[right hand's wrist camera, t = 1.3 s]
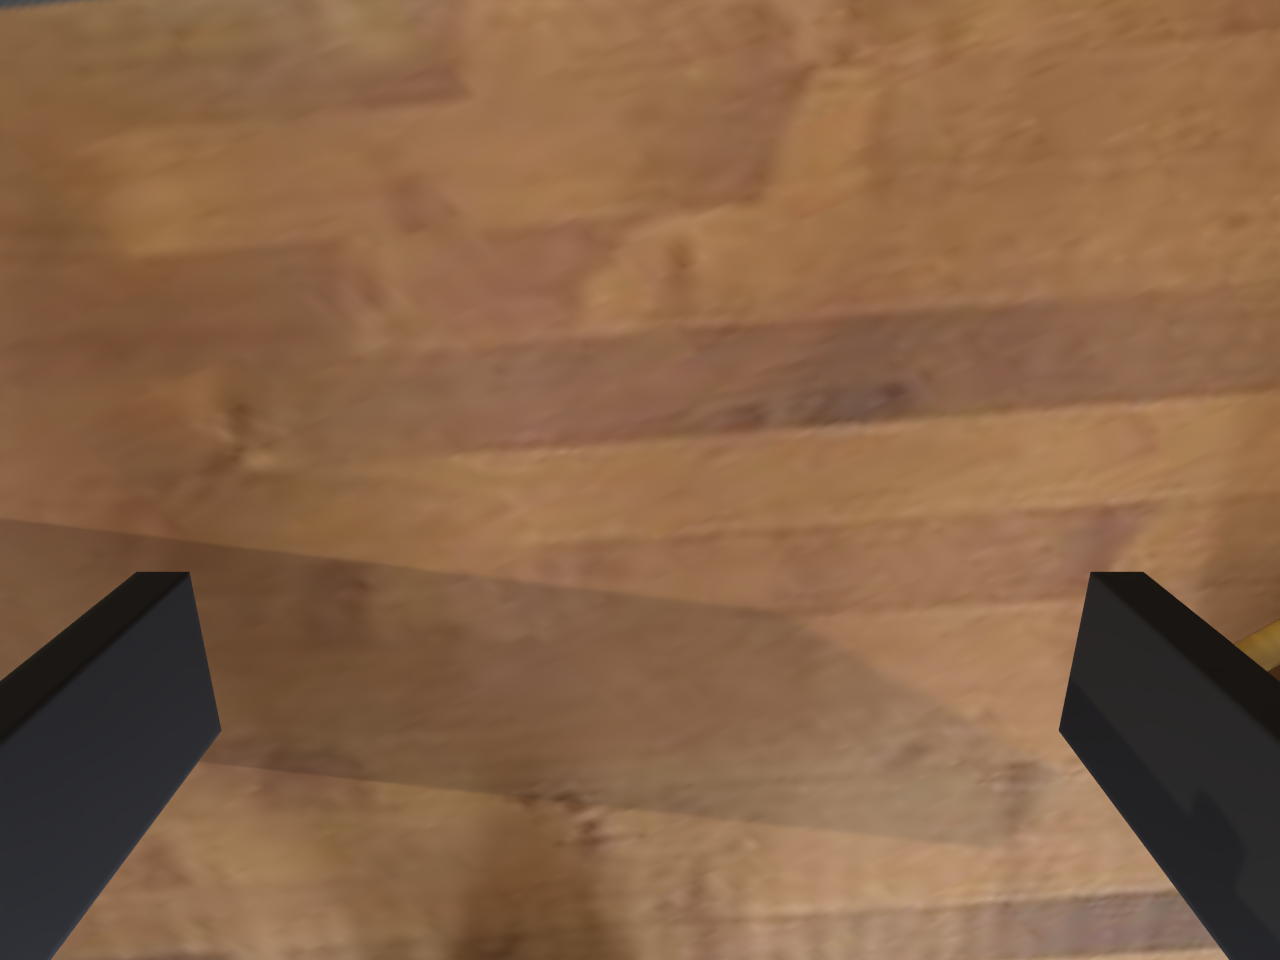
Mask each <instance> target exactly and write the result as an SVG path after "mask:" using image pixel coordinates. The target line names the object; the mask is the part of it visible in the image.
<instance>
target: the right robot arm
mask: <svg viewBox="0 0 1280 960" xmlns="http://www.w3.org/2000/svg"><path fill="white" fill-rule="evenodd" d="M220 732H221V727H220V722H219V717H218V712H217V707H216V702H215V697H214V692H213V687H212V682H211V677H210V672H209V667H208V662H207V657H206V652H205V648H204V643H203V638H202V633H201V628H200V623H199V618H198V613H197V608H196V603H195V598H194V593H193V588H192V583H191V578H190V573H189V572H136V573H135V574H133V575H132V576H131V577H130V578H128V579H127V580H126V581H125V582H123V583H122V584H121V585H120V586H118V587H117V588H116V589H115V590H113V591H112V592H111V593H110V594H109V595H107V596H106V597H105V598H104V599H102V600H101V601H100V602H99V603H97V604H96V605H95V606H94V607H92V608H91V609H90V610H89V611H87V612H86V613H85V614H84V615H82V616H81V617H80V618H79V619H77V620H76V621H75V622H74V623H72V624H71V625H70V626H69V627H67V628H66V629H65V630H64V631H62V632H61V633H60V634H59V635H57V636H56V637H55V638H54V639H52V640H51V641H50V642H49V643H47V644H46V645H45V646H44V647H42V648H41V649H40V650H39V651H38V652H36V653H35V654H34V655H33V656H31V657H30V658H29V659H28V660H26V661H25V662H24V663H23V664H21V665H20V666H19V667H18V668H16V669H15V670H14V671H13V672H11V673H10V674H9V675H8V676H6V677H5V678H4V679H3V680H1V681H0V960H51V959H52V957H53V956H54V955H55V953H56V952H57V951H58V949H59V948H60V947H61V945H62V944H63V943H64V941H65V940H66V939H67V937H68V936H69V935H70V933H71V932H72V930H73V929H74V928H75V926H76V925H77V924H78V922H79V921H80V920H81V918H82V917H83V916H84V914H85V913H86V912H87V910H88V909H89V908H90V906H91V905H92V904H93V902H94V901H95V900H96V898H97V897H98V896H99V894H100V893H101V892H102V890H103V889H104V887H105V886H106V885H107V883H108V882H109V881H110V879H111V878H112V877H113V875H114V874H115V873H116V871H117V870H118V869H119V867H120V866H121V865H122V863H123V862H124V861H125V859H126V858H127V857H128V855H129V854H130V853H131V851H132V850H133V849H134V847H135V846H136V844H137V843H138V842H139V840H140V839H141V838H142V836H143V835H144V834H145V832H146V831H147V830H148V828H149V827H150V826H151V824H152V823H153V822H154V820H155V819H156V818H157V816H158V815H159V814H160V812H161V811H162V810H163V808H164V807H165V806H166V804H167V803H168V801H169V800H170V799H171V797H172V796H173V795H174V793H175V792H176V791H177V789H178V788H179V787H180V785H181V784H182V783H183V781H184V780H185V779H186V777H187V776H188V775H189V773H190V772H191V771H192V769H193V768H194V767H195V765H196V764H197V762H198V761H199V760H200V758H201V757H202V756H203V754H204V753H205V752H206V750H207V749H208V748H209V746H210V745H211V744H212V742H213V741H214V740H215V738H216V737H217V736H218V734H219V733H220ZM1059 732H1060V733H1061V734H1062V736H1063V737H1064V738H1065V740H1066V741H1067V742H1068V744H1069V745H1070V746H1071V748H1072V749H1073V750H1074V752H1075V753H1076V754H1077V756H1078V757H1079V758H1080V760H1081V761H1082V762H1083V764H1084V765H1085V767H1086V768H1087V769H1088V771H1089V772H1090V773H1091V775H1092V776H1093V777H1094V779H1095V780H1096V781H1097V783H1098V784H1099V785H1100V787H1101V788H1102V789H1103V791H1104V792H1105V793H1106V795H1107V796H1108V797H1109V799H1110V800H1111V801H1112V803H1113V804H1114V806H1115V807H1116V808H1117V810H1118V811H1119V812H1120V814H1121V815H1122V816H1123V818H1124V819H1125V820H1126V822H1127V823H1128V824H1129V826H1130V827H1131V828H1132V830H1133V831H1134V832H1135V834H1136V835H1137V836H1138V838H1139V839H1140V840H1141V842H1142V843H1143V844H1144V846H1145V847H1146V849H1147V850H1148V851H1149V853H1150V854H1151V855H1152V857H1153V858H1154V859H1155V861H1156V862H1157V863H1158V865H1159V866H1160V867H1161V869H1162V870H1163V871H1164V873H1165V874H1166V875H1167V877H1168V878H1169V879H1170V881H1171V882H1172V883H1173V885H1174V886H1175V887H1176V889H1177V890H1178V892H1179V893H1180V894H1181V896H1182V897H1183V898H1184V900H1185V901H1186V902H1187V904H1188V905H1189V906H1190V908H1191V909H1192V910H1193V912H1194V913H1195V914H1196V916H1197V917H1198V918H1199V920H1200V921H1201V922H1202V924H1203V925H1204V926H1205V928H1206V929H1207V930H1208V932H1209V933H1210V935H1211V936H1212V937H1213V939H1214V940H1215V941H1216V943H1217V944H1218V945H1219V947H1220V948H1221V949H1222V951H1223V952H1224V953H1225V955H1226V956H1227V957H1228V959H1229V960H1280V681H1279V680H1277V679H1276V678H1275V677H1274V676H1272V675H1271V674H1270V673H1269V672H1267V671H1266V670H1265V669H1264V668H1262V667H1261V666H1260V665H1259V664H1257V663H1256V662H1255V661H1254V660H1252V659H1251V658H1250V657H1249V656H1247V655H1246V654H1245V653H1244V652H1242V651H1241V650H1240V649H1239V648H1238V647H1236V646H1235V645H1234V644H1233V643H1231V642H1230V641H1229V640H1228V639H1226V638H1225V637H1224V636H1223V635H1221V634H1220V633H1219V632H1218V631H1216V630H1215V629H1214V628H1213V627H1211V626H1210V625H1209V624H1208V623H1206V622H1205V621H1204V620H1203V619H1201V618H1200V617H1199V616H1198V615H1196V614H1195V613H1194V612H1193V611H1191V610H1190V609H1189V608H1188V607H1186V606H1185V605H1184V604H1183V603H1181V602H1180V601H1179V600H1178V599H1176V598H1175V597H1174V596H1173V595H1171V594H1170V593H1169V592H1168V591H1167V590H1165V589H1164V588H1163V587H1162V586H1160V585H1159V584H1158V583H1157V582H1155V581H1154V580H1153V579H1152V578H1150V577H1149V576H1148V575H1147V574H1145V573H1144V572H1091V573H1090V578H1089V583H1088V588H1087V593H1086V598H1085V603H1084V608H1083V613H1082V618H1081V623H1080V628H1079V633H1078V638H1077V643H1076V648H1075V652H1074V657H1073V662H1072V667H1071V672H1070V677H1069V682H1068V687H1067V692H1066V697H1065V702H1064V707H1063V712H1062V717H1061V722H1060V727H1059Z"/></svg>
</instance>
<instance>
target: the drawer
mask: <svg viewBox="0 0 1280 960" xmlns="http://www.w3.org/2000/svg"><path fill="white" fill-rule="evenodd" d="M1234 645H1235V646H1236V647H1238V648H1239V649H1240V650H1241V651H1242V652H1244V653H1245V654H1246V655H1247V656H1249V657H1250V658H1251V659H1252V660H1254V661H1255V662H1256V663H1257V664H1259V665H1260V666H1261V667H1262V668H1264V669H1265V670H1266V671H1267V672H1269V673H1270V674H1271V675H1272V676H1274V677H1275V678H1276V679H1277V680H1279V681H1280V619H1279V620H1277V621H1275V622H1274V623H1272V624H1270V625H1268V626H1266V627H1264V628H1263V629H1261V630H1259V631H1257V632H1255V633H1253V634H1252V635H1250V636H1248V637H1246V638H1244V639H1242V640H1241V641H1239V642H1237V643H1235V644H1234Z"/></svg>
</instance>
